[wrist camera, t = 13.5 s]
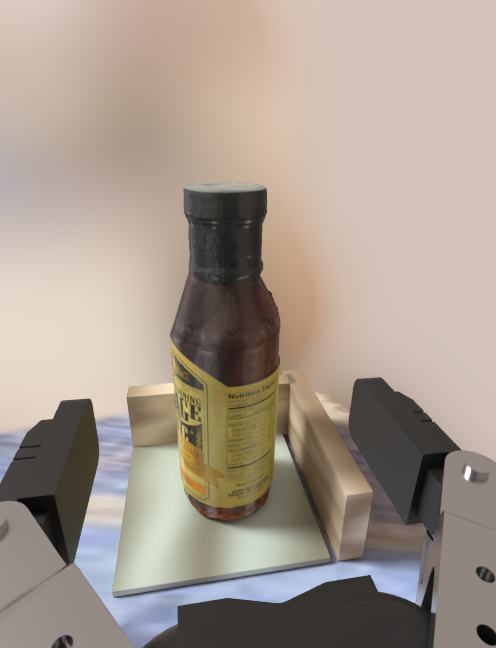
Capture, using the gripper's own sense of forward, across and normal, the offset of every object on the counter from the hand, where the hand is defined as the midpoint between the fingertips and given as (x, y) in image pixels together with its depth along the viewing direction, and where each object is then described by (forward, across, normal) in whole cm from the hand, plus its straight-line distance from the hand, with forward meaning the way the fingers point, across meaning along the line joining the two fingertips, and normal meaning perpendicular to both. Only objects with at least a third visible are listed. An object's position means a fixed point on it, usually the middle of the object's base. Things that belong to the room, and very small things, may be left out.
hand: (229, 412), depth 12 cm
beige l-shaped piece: (+11, -1, +14) cm, 18 cm away
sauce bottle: (+10, -1, +14) cm, 18 cm away
